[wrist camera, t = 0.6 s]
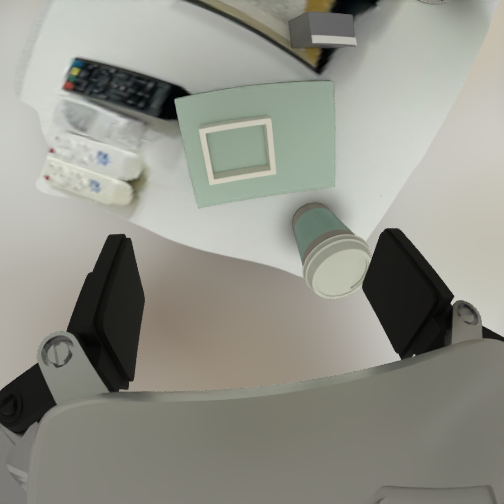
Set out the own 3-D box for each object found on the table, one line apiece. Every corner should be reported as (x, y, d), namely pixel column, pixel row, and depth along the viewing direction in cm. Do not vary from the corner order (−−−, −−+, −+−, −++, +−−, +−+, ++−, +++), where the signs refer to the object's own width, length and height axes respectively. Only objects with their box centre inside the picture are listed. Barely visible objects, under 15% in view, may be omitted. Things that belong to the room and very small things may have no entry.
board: (329, 80, 28) (333, 81, 28) (331, 182, 37) (335, 186, 36) (175, 98, 28) (174, 99, 27) (198, 203, 36) (198, 208, 35)
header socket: (267, 115, 29) (271, 118, 28) (272, 168, 34) (276, 174, 32) (199, 125, 29) (198, 129, 28) (209, 178, 33) (209, 185, 32)
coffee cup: (313, 253, 44) (341, 309, 35) (270, 229, 40) (291, 289, 31) (349, 212, 40) (389, 263, 31) (308, 182, 37) (344, 231, 27)
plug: (325, 22, 24) (353, 14, 18) (328, 48, 26) (356, 46, 20) (288, 21, 24) (308, 11, 18) (291, 48, 26) (312, 44, 20)
